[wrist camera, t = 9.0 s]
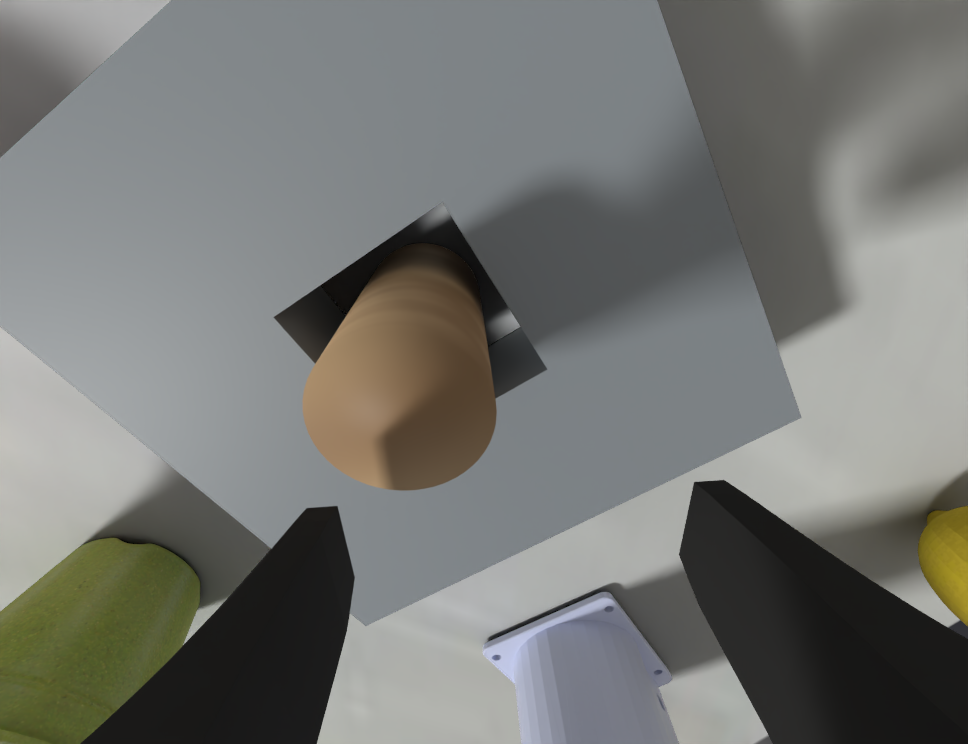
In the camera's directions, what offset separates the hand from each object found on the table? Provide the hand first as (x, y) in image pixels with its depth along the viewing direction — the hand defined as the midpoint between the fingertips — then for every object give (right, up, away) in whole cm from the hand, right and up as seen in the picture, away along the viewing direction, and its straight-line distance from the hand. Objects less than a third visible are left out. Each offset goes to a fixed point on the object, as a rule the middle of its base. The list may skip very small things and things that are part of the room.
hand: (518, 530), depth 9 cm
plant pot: (-18, -7, +13) cm, 23 cm away
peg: (-3, +6, +7) cm, 10 cm away
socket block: (-3, +6, +7) cm, 10 cm away
